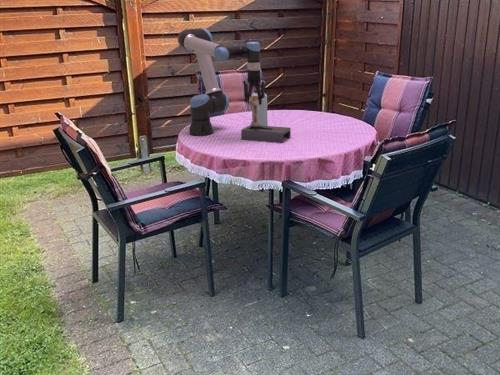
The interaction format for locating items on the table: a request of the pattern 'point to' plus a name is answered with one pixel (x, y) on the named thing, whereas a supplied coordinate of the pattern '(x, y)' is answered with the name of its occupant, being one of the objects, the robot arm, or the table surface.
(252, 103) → the peg
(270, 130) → the keyhole plate
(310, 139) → the table surface
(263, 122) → the water bottle
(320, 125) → the table surface
